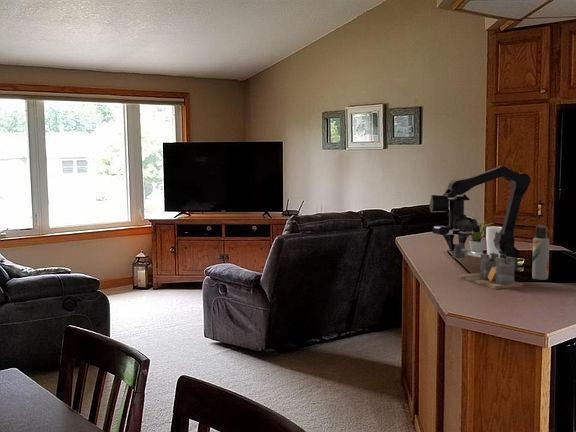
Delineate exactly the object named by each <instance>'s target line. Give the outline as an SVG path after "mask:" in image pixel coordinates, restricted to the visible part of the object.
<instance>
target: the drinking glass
mask: <svg viewBox="0 0 576 432" xmlns="http://www.w3.org/2000/svg"><path fill="white" fill-rule="evenodd" d="M485 227H486V226H485ZM502 227H503V226H494V225H493V226H487V227H486V229H485V235H486V236H485V239H486V240H485V243H486V254H488V255H490V253H496V254H499V257H500V255H502V254H500V253H499V251H498V250H497V249H496V247H495V246H494V241H493V240H494V239H495V233H496V232H498V233H499V232H500V231H501V229H502ZM499 257H498V258H499Z"/></svg>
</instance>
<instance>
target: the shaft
mask: <svg viewBox="0 0 576 432" xmlns="http://www.w3.org/2000/svg"><path fill="white" fill-rule="evenodd" d="M465 245H466V243H465V244H463V243H459V242H457V243H453V251H451V254H452V255H451V258H453V259H464V258H465V256H471V257H474V258H479V259H481V254H485V253H484V252H483V253H480V252H476V251H471V250H470V249H466V246H465ZM486 254H487V253H486ZM487 255H488V254H487ZM489 260H490V261H491V260H493V256H492V255H489Z"/></svg>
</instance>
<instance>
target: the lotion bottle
mask: <svg viewBox="0 0 576 432" xmlns="http://www.w3.org/2000/svg"><path fill="white" fill-rule="evenodd" d="M549 264H550V239H549V238H548V226H546V225H542V224H539V225H536V226H535V237H534V238H532V268H531V276H532V277H531V278H532V279H534V280H539V281H540V280H541V281H543V280H548V279H549Z"/></svg>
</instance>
